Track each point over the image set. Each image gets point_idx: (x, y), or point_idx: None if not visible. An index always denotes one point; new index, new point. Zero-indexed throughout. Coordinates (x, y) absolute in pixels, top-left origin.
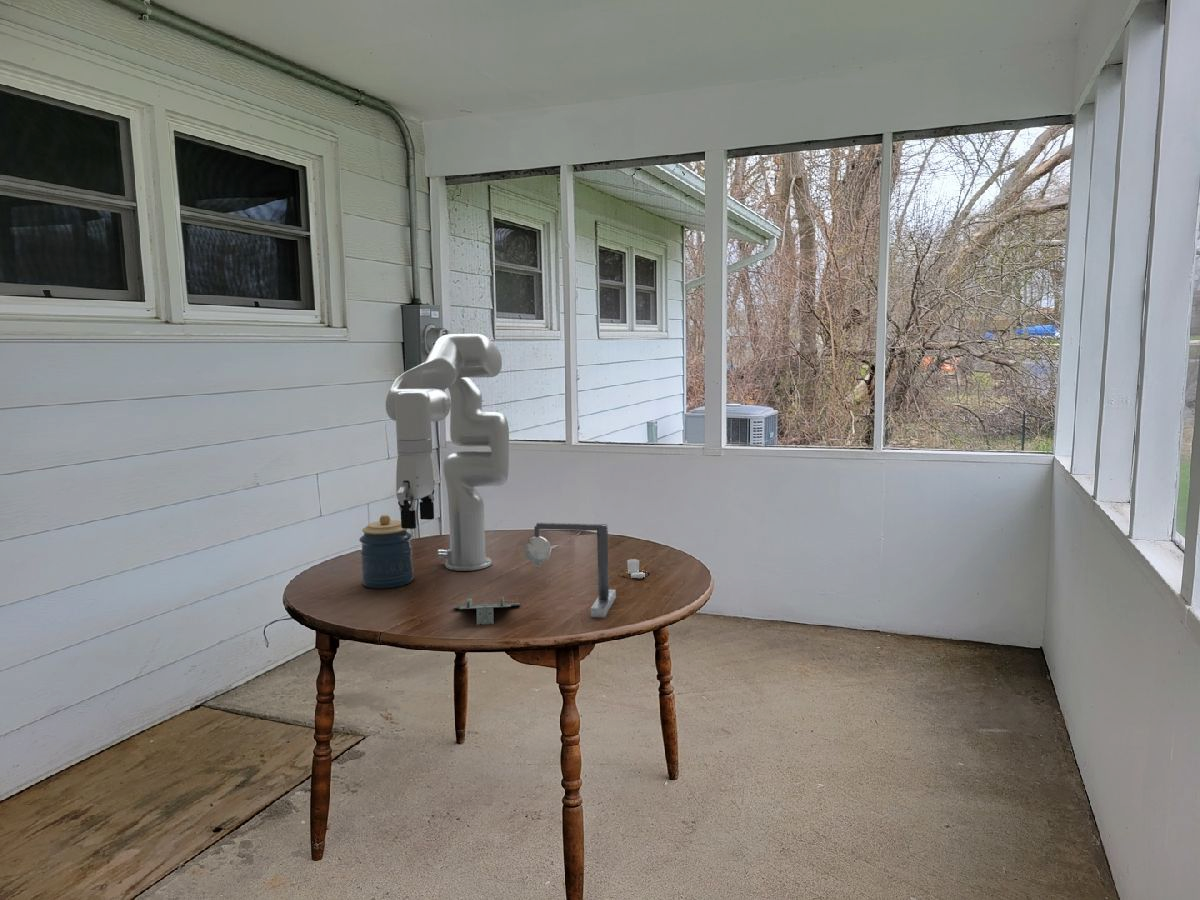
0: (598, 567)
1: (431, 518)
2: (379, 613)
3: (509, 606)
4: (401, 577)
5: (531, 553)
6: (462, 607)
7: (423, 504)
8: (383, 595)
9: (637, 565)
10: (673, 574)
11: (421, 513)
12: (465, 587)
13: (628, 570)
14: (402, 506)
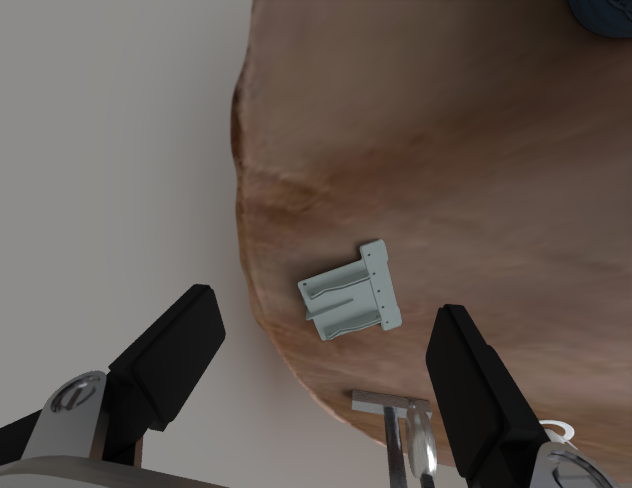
0: (391, 459)
1: (426, 358)
2: (332, 101)
3: (322, 339)
4: (606, 18)
5: (411, 425)
6: (337, 271)
7: (476, 425)
8: (483, 18)
9: None
10: None
11: (449, 339)
12: (524, 219)
13: (549, 436)
14: (28, 434)
